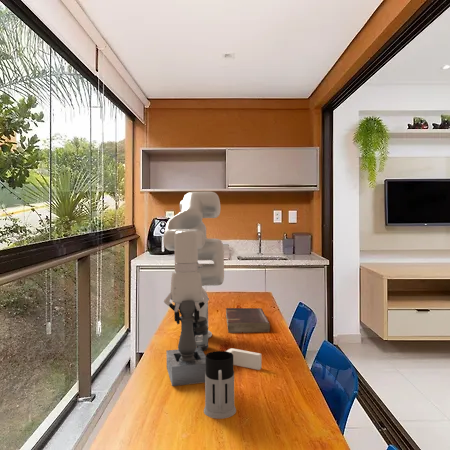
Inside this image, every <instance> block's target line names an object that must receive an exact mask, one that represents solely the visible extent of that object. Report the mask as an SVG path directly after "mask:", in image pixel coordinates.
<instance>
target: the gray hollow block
mask: <svg viewBox="0 0 450 450" xmlns="http://www.w3.org/2000/svg"><path fill="white" fill-rule="evenodd" d="M204 352H205V351H202V349H201V347H200V348H196V350H195V352H194V355H193V356H194V358H195V359H196V360H191V361H180V362H179V359H180V357H181V353H180V352H179V350H178V349H170V350H166V370H167V373H168V377H169V380H170V384H171V386H172V387H177V386H185V385H187V386H188V385H193V384H194V385H195V384H205V371H206V354H205V353H204Z"/></svg>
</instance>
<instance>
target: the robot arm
mask: <svg viewBox="0 0 450 450" xmlns="http://www.w3.org/2000/svg"><path fill="white" fill-rule="evenodd" d="M220 201H221V200H220V197H219V195H218V194H217V193H216V192H214V191H190V192H187V193H186V194H184V196H183V199H182V200H181V201H180V202H179V210H180V211H179V212H178V213H177V214H176V215H174V216H172V217H170V219H168V221H167V223H166V224H165V228H164V232H163V239H162V242H163V246H164V248H165V249H166V250H167V251H170V252H174V271H173V272H172V273H171V281H170V293H168V295H167V296H166V297H165V299H164V300H163V303H164V304H165V305H167V306H168V307H169V308H170V309H171V310H172V311H173V313H174V322H176V324H177V325H181V321H180V316H181V314H180V312H179V306H180V303H182V301H191V300H194V302H195V312H194V313H193V316H194V317H195V320H194V321H195V323H198V320H199V316H201V317H205V318H207V324H206V325H207V326H208V327H209V301H210V298H209V296H208V292H207V291H206V290H205V289H204V287H205V286H207V287H208V286H210V287H211V286H221V285H222V284H223V283H224V281H225V254H224V253H225V251H224V250H225V248H224V244H223V241H222V240H221V239H219V238H207V227H206V224H205V223H204V222H203V219H216V218H218V217H219V216H220V214H221V210H222V209H221V202H220ZM198 261H212V262H213V263H199V262H198ZM170 300H171V301H172V302H171V301H170ZM212 336H213V333H212V331H210V330H208V339H210V338H211V337H212Z"/></svg>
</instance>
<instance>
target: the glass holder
mask: <svg viewBox="0 0 450 450" xmlns="http://www.w3.org/2000/svg"><path fill="white" fill-rule="evenodd" d="M226 351H227V350H216V351H215V350H214V351H210V352H208V353H206V354H205V356H206V371H205V383H204V386H205V387H204V391H205V392H204V393H205V394H204V395H205V396H204V397H205V398H204V399H205V400H204V401H205V402H204V403H205V404H204V409H203V413H204V415H205V416H207V417H208V418H212V419H217V420H221V419H227V418H231V417H233V416H234V415H235V414H236V413H237V409H236V406H235V370H234V365H233V354H232V353H230V352H226Z"/></svg>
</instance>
